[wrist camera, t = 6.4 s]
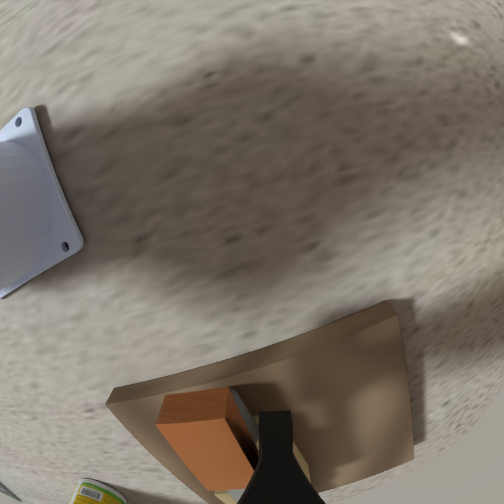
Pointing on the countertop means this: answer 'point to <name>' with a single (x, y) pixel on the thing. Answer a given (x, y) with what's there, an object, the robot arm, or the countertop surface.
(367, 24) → the countertop surface
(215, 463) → the valve lever
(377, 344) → the valve base
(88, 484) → the supplement bottle
